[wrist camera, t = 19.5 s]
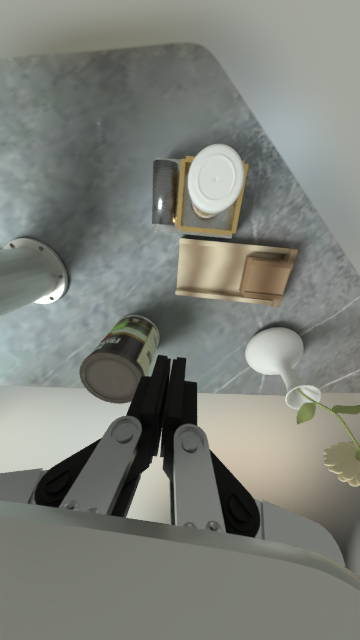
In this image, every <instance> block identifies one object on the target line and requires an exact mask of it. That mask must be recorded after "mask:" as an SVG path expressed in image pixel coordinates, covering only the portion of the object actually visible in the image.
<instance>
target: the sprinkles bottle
mask: <svg viewBox="0 0 360 640" xmlns="http://www.w3.org/2000/svg"><path fill="white" fill-rule="evenodd" d="M243 182H244V167H243V163H242V160H241V158H240V156H239V155H238V153H237V152H236V151H235V150H234V149H233V148H231V147H230V146H228V145H225V144H213V145H210V146H207V147H206V148H204V149H203V150H201V151H200V152H199V153H198V154H197V156H196V157H195V158H194V160H193V162H192V164H191V166H190V169H189V174H188V190H189V194H190V197H191V206H192V210H193V212H194V213H195V215H196V216H197V217H199V218H200V219H204V220H209V219H212V218H214V217H215V216H217V215H218V213H220V212H222V211H224V210H226V209H227V208H228V207H230V206H231V205H232V204H233V203H234V201H235V200H236V199H237V197H238V196H239V194H240V192H241V190H242V187H243Z"/></svg>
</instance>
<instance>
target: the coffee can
mask: <svg viewBox="0 0 360 640" xmlns="http://www.w3.org/2000/svg"><path fill="white" fill-rule="evenodd" d="M159 341H160V335H159V331H158V329H157V327H156V326H155V324H154V323H153V322H152V321H150V320H149V319H148V318H146V317H143V316H140V315H128V316H125V317H123V318H121V319H120V320H119V321H118V322H117V324H116V325H115V326H114V328H113V329H112V330H111V331H110V332H109V333H108V335H107V336H106V337H105V338H104V339H103V340H102V341H101V343H100V344H99V345H98V346H97V347H96V348H95V350H94V351H93V352H92V353H91V354H90V355H89V356H88V357H87V358H86V359H85V360H84V361H83V362H82V364H81V366H80V378H81V381H82V383H83V385H84V386H85V388H86V389H87V390H88V391H89V392H90V393H91V394H93V395H94V396H95V397H97V398H99V399H101V400H103V401H106V402H110V403H119V404H121V403H128V402H131V401H132V399H133V397H134V394H135V392H136V389H137V386H138V384H139V381H140V378H141V376H147V375H148V372H149V369H150V366H151V364H152V361H153V358H154V355H155V352H156V349H157V346H158V344H159Z"/></svg>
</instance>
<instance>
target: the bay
mask: <svg viewBox="0 0 360 640" xmlns="http://www.w3.org/2000/svg"><path fill="white" fill-rule="evenodd" d="M179 244H180V251H179V264H178V277H177V289H176V294H175V295H182V296H191V297H201V298H210V299H220V300H229V301H238V302H248V303H257V304H266V305H272V306H273V307H278V308H279V307H280V304H281V301H282V300H281V301H280V300H271V299H261V298H252V297H244V296H243V295H242V294H241V292H240V291H239V287H240V283H241V278H242V274H243V269H244V265H245V260H246V256H253V257H263V258H273V259H282V260H286V261H289V262H292V263H293V264H294V262H295V259H296V256H297V253H298V250H296V249H291V248H282V247H271V246H261V245H251V244H240V243H230V242H219V241H209V240H198V239H188V238H180V243H179ZM291 271H292V269H291V270H290V273H289V276H288V279H287V282H286V285H285V289H286V286H287V283H288V280H289V277H290V274H291ZM285 289H284V292H285ZM284 292H283V295H284ZM283 295H282V296H283Z"/></svg>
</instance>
